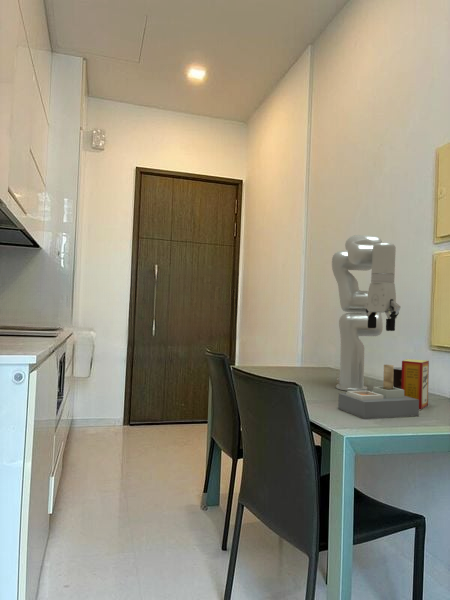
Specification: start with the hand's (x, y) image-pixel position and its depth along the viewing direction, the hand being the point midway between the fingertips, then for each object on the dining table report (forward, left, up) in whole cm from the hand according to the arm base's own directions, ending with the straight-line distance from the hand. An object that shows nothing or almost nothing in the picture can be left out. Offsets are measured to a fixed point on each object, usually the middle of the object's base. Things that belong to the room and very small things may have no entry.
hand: (380, 329), depth 153 cm
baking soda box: (+2, +13, -27) cm, 30 cm away
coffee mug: (-17, +26, -27) cm, 41 cm away
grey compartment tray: (+8, -7, -26) cm, 28 cm away
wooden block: (+8, -3, -21) cm, 23 cm away
